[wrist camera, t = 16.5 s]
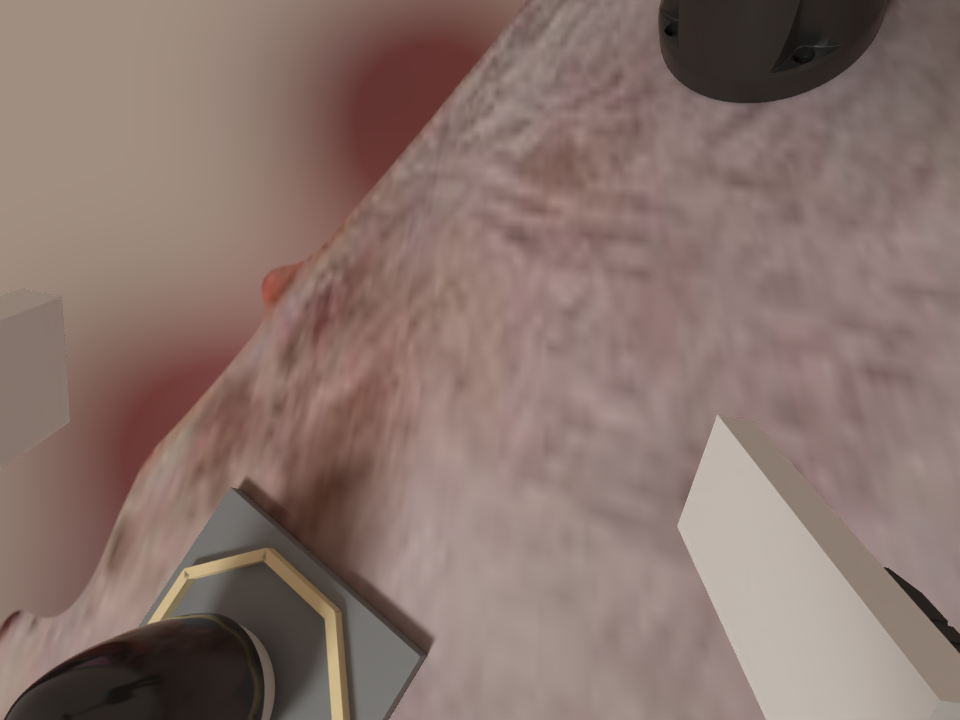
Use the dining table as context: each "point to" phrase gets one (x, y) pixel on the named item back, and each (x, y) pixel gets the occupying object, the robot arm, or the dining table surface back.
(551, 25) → the dining table surface
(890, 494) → the dining table surface
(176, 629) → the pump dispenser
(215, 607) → the dock plate
